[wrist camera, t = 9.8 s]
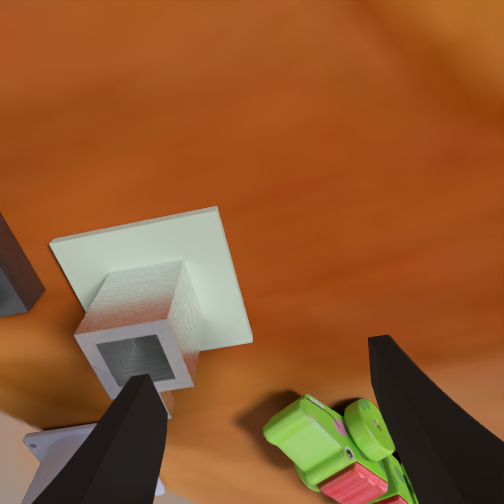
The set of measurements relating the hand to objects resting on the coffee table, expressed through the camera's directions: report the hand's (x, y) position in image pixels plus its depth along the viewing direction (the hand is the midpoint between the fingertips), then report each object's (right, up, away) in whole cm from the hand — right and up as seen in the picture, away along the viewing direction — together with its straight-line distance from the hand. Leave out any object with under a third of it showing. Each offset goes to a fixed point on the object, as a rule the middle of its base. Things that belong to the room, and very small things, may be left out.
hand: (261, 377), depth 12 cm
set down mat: (-6, +2, +10) cm, 11 cm away
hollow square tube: (-6, +2, +9) cm, 11 cm away
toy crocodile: (+8, -11, +18) cm, 22 cm away
